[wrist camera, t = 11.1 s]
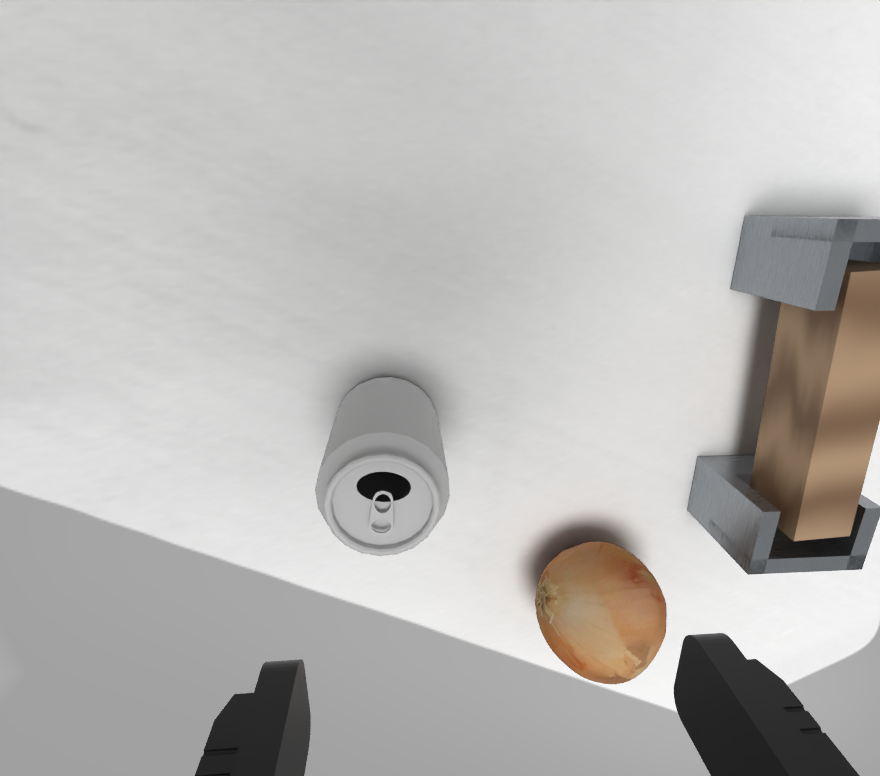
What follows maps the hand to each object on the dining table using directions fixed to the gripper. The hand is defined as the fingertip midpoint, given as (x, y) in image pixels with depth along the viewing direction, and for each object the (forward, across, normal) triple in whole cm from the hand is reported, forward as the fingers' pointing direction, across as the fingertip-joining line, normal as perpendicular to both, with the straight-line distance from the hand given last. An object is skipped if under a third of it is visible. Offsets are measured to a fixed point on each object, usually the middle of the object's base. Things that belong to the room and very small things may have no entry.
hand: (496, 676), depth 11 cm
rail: (+24, -26, +4) cm, 36 cm away
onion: (+28, -13, +20) cm, 37 cm away
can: (+28, +3, +6) cm, 29 cm away
